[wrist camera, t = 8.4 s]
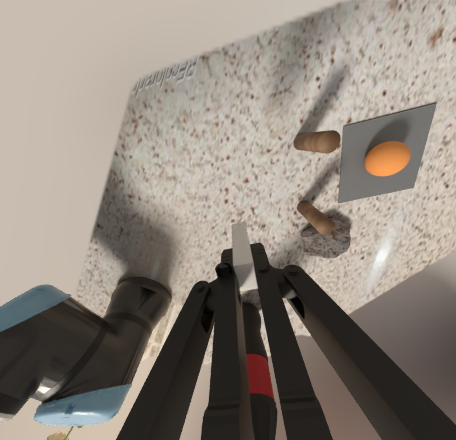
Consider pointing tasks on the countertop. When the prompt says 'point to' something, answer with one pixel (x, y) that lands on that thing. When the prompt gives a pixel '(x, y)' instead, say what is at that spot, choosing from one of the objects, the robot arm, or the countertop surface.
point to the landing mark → (374, 135)
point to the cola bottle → (258, 377)
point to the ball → (387, 158)
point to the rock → (327, 240)
